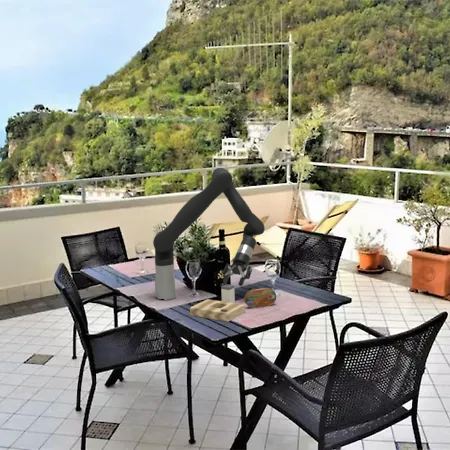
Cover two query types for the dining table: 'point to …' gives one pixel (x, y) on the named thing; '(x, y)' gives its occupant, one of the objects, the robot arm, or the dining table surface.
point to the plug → (228, 293)
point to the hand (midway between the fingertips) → (232, 284)
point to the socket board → (217, 310)
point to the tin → (260, 297)
